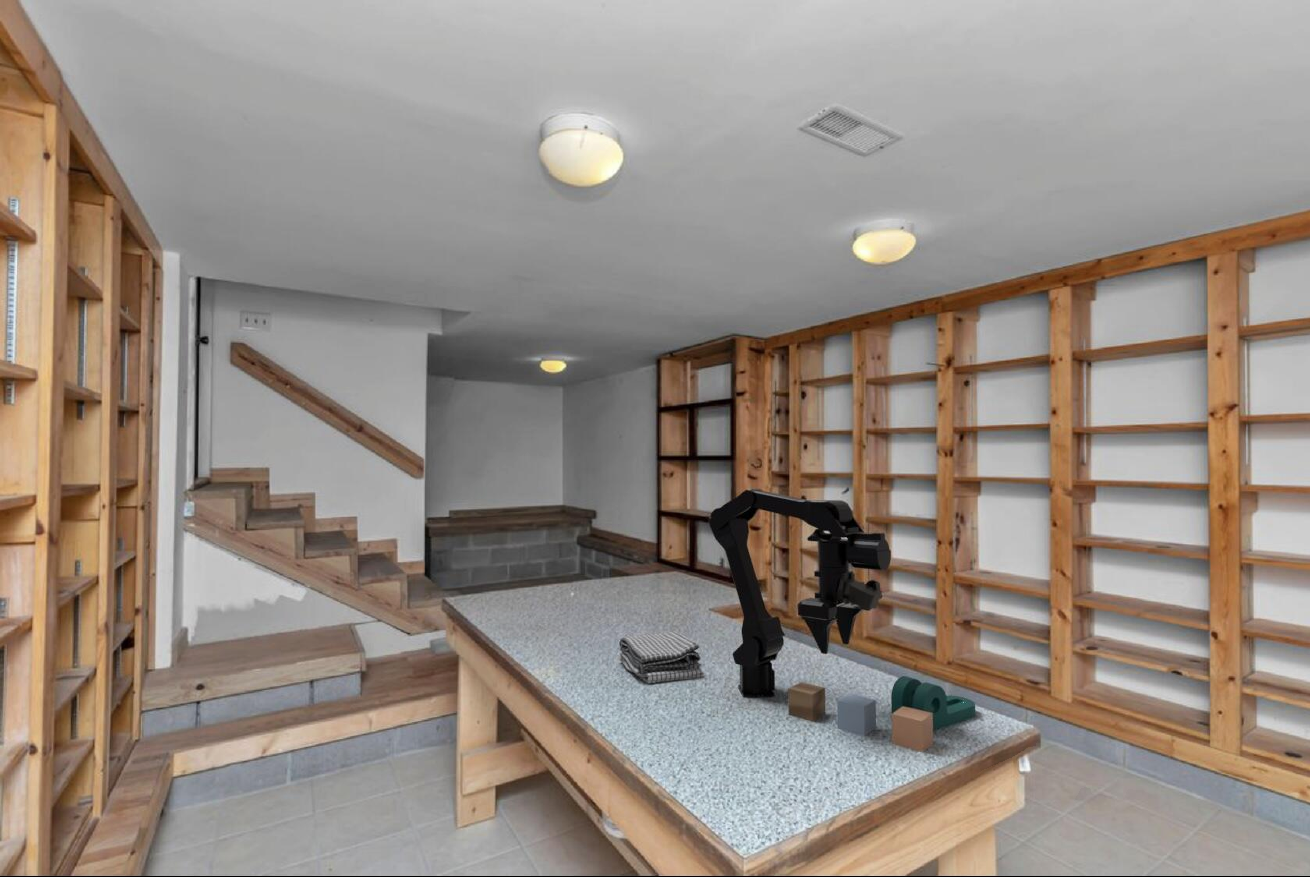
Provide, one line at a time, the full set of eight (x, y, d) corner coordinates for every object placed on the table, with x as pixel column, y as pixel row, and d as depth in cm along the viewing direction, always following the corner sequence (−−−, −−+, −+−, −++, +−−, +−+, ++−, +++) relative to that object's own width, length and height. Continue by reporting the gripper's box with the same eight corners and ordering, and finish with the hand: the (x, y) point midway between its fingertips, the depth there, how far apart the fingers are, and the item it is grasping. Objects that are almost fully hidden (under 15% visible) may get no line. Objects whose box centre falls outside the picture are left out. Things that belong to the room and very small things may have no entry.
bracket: (924, 735, 112) (923, 689, 113) (891, 722, 118) (890, 679, 118) (982, 715, 122) (981, 672, 122) (949, 704, 127) (948, 664, 128)
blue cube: (864, 736, 111) (863, 706, 112) (837, 728, 115) (837, 700, 115) (876, 728, 115) (875, 699, 115) (849, 721, 118) (849, 693, 119)
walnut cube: (812, 721, 118) (812, 694, 118) (788, 715, 121) (788, 688, 121) (825, 714, 122) (825, 687, 122) (801, 708, 125) (801, 682, 125)
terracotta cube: (922, 752, 105) (921, 721, 105) (892, 744, 108) (891, 713, 108) (933, 743, 108) (932, 712, 109) (903, 735, 112) (902, 706, 112)
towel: (674, 658, 161) (674, 626, 161) (706, 679, 144) (706, 643, 144) (616, 664, 155) (617, 631, 156) (642, 686, 138) (642, 649, 139)
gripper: (853, 575, 111) (855, 667, 110) (893, 564, 125) (895, 646, 124) (795, 569, 118) (796, 655, 117) (839, 560, 132) (841, 637, 131)
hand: (835, 648), depth 122 cm, fingers open, 9 cm apart
